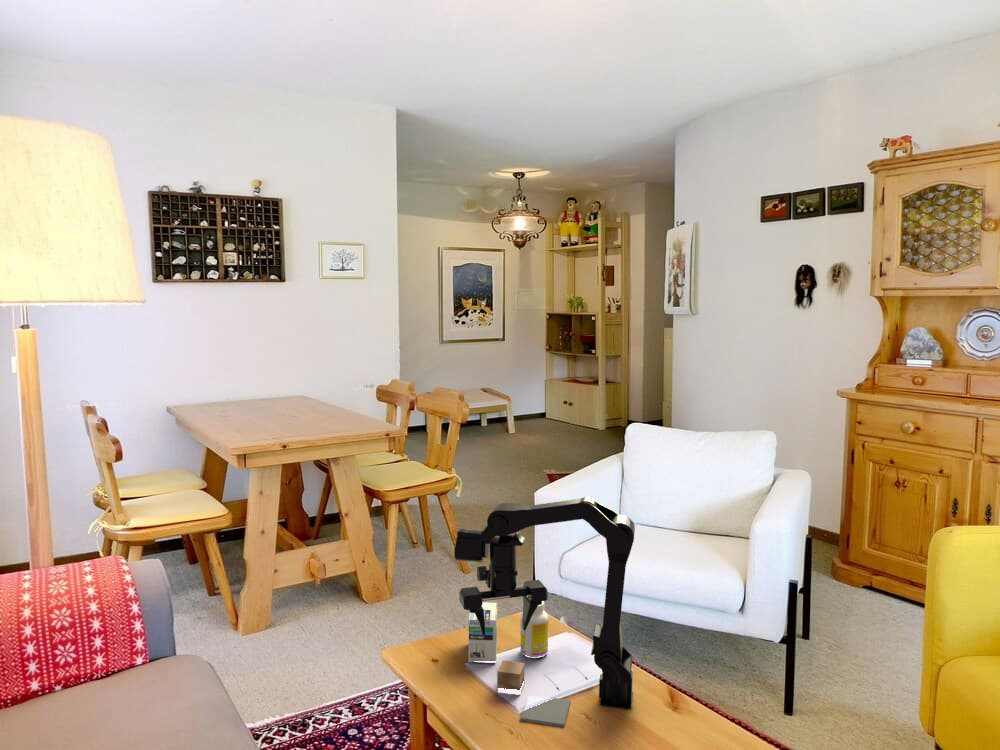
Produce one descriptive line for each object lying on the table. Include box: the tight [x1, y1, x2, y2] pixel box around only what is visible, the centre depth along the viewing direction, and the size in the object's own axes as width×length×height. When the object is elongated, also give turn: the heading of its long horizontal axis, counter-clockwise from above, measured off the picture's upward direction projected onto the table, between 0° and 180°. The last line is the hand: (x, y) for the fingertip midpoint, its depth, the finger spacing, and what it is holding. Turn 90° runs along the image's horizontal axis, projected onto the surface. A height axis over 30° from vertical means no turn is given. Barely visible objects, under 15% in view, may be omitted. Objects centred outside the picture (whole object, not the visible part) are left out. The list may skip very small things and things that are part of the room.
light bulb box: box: [468, 601, 498, 663], centre depth 173 cm, size 11×7×11 cm, turn 179°
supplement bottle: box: [520, 601, 549, 657], centre depth 173 cm, size 7×7×13 cm
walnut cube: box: [496, 660, 526, 690], centre depth 157 cm, size 5×5×5 cm
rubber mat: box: [519, 697, 571, 728], centre depth 148 cm, size 9×9×1 cm
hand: (503, 632), depth 157 cm, fingers open, 9 cm apart
